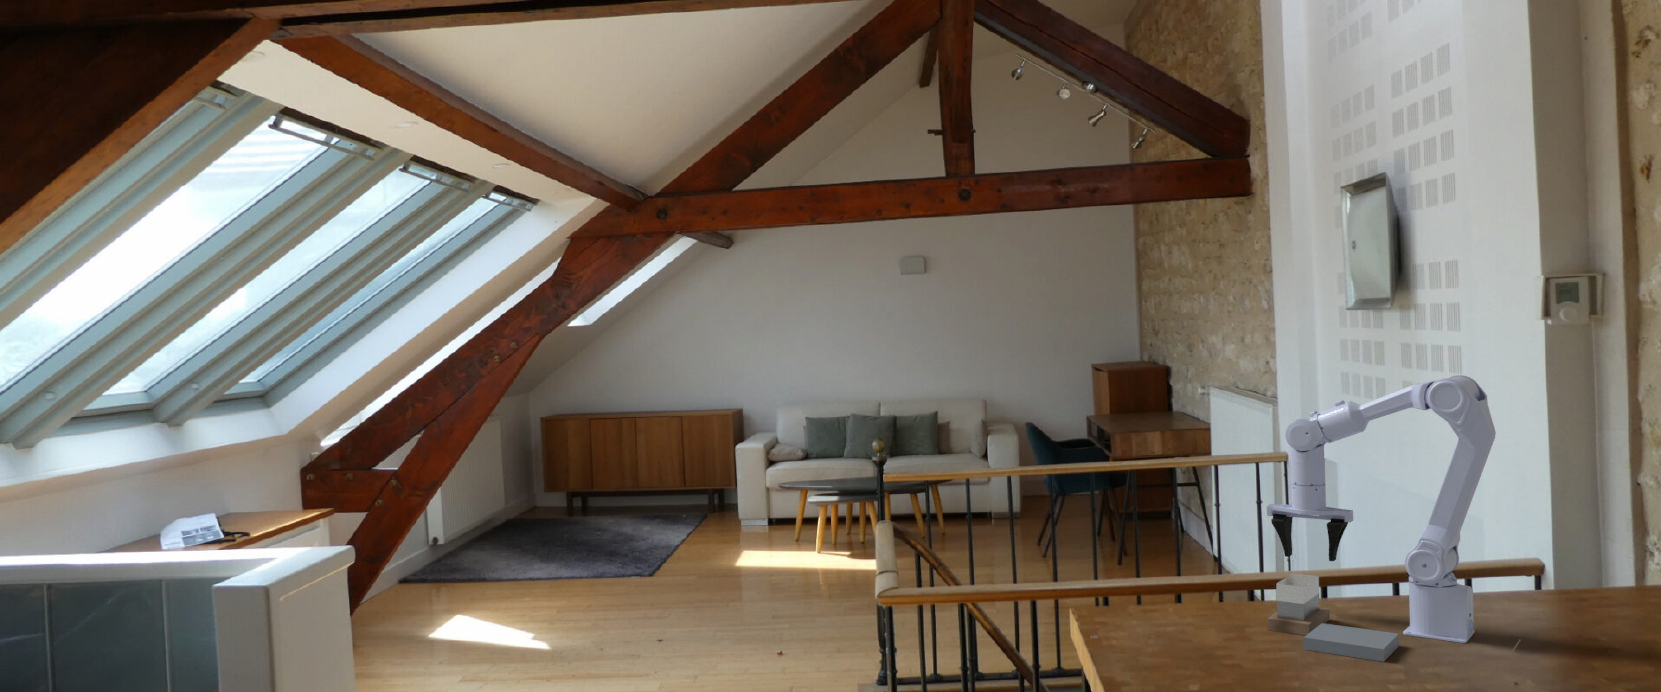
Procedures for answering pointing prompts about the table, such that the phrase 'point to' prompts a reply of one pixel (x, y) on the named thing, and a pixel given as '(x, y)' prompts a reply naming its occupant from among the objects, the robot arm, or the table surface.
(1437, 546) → the robot arm
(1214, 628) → the table surface
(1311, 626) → the stand
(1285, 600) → the block
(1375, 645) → the stand
